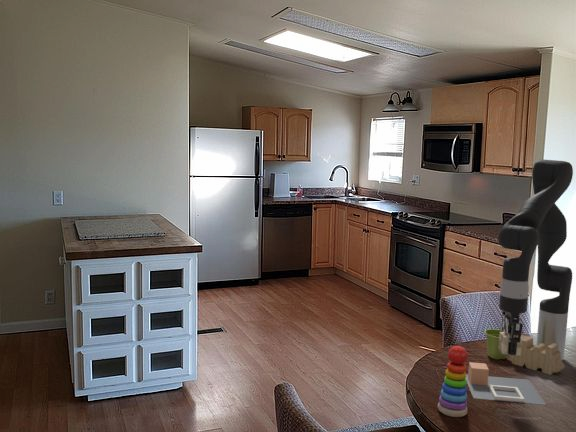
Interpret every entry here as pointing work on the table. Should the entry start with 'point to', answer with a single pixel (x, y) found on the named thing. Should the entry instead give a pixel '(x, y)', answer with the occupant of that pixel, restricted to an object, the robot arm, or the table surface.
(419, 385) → the table surface
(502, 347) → the maple block
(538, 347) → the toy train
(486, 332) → the plant pot
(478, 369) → the terracotta block
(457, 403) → the stacking toy
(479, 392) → the board
